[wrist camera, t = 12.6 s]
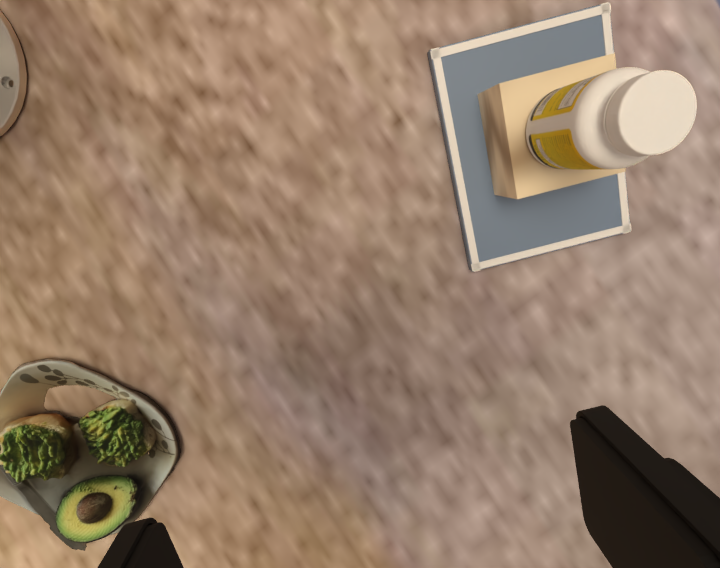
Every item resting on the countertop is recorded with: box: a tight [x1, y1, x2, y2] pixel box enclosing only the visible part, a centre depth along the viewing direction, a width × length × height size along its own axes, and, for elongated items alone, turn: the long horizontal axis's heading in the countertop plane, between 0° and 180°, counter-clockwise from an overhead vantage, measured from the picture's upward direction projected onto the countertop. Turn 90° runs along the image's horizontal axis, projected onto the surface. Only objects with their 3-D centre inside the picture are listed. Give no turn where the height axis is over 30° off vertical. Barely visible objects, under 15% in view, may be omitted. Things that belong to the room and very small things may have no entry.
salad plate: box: [0, 359, 181, 551], centre depth 41 cm, size 19×18×5 cm
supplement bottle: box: [526, 67, 697, 170], centre depth 27 cm, size 5×5×10 cm
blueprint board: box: [427, 2, 631, 272], centre depth 37 cm, size 18×14×1 cm
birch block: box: [477, 53, 626, 199], centre depth 34 cm, size 8×8×5 cm
